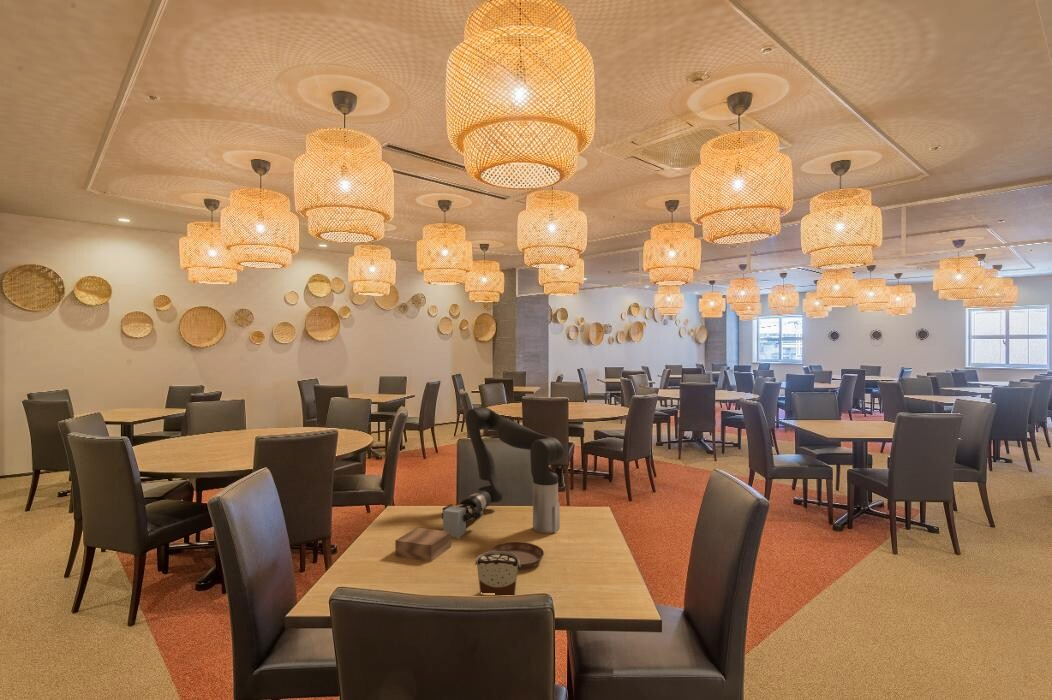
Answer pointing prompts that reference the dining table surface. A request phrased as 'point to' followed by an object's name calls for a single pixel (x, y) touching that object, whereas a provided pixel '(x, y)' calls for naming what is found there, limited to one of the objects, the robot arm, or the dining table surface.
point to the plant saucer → (522, 553)
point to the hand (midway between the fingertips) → (453, 517)
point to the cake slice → (497, 572)
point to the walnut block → (423, 544)
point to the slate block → (454, 521)
